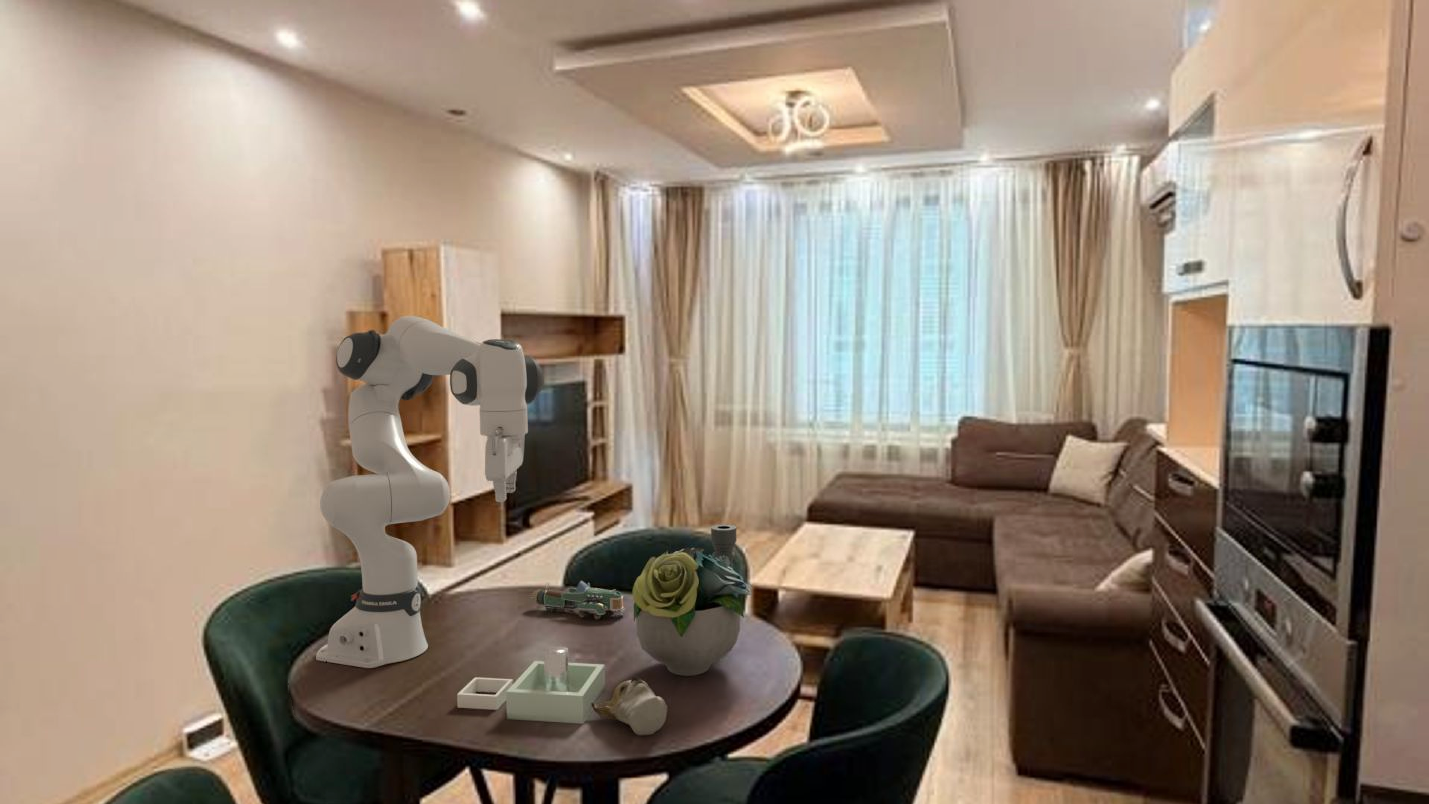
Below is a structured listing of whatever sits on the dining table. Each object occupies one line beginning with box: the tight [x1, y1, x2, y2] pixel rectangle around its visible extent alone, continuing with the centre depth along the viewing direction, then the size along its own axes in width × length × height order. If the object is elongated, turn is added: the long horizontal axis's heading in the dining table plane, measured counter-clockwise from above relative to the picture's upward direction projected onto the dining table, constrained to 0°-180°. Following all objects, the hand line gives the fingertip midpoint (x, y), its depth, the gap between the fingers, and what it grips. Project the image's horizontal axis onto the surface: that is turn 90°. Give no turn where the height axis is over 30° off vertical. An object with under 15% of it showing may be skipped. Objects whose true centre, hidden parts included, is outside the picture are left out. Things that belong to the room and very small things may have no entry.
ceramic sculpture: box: [591, 676, 668, 736], centre depth 143 cm, size 11×9×15 cm
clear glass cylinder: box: [543, 645, 570, 692], centre depth 150 cm, size 4×4×9 cm
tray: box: [505, 660, 606, 725], centre depth 150 cm, size 14×14×5 cm
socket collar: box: [456, 677, 514, 711], centre depth 153 cm, size 8×8×2 cm
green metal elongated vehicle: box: [530, 580, 627, 620], centre depth 201 cm, size 10×25×8 cm, turn 74°
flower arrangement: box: [632, 547, 753, 677], centre depth 165 cm, size 25×25×24 cm
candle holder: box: [710, 524, 739, 598], centre depth 184 cm, size 6×6×25 cm
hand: (505, 496), depth 156 cm, fingers open, 8 cm apart
